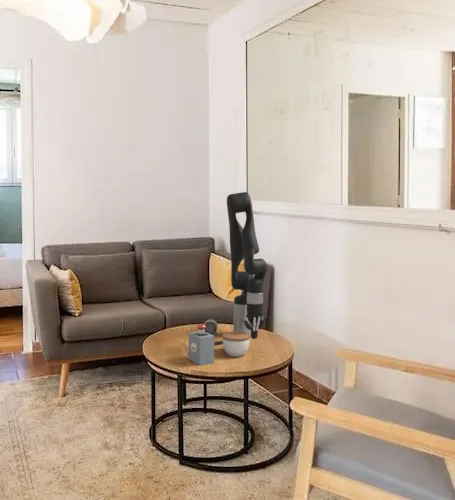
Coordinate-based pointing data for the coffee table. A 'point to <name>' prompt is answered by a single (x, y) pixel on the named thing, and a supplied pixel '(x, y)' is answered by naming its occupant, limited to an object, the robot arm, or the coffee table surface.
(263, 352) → the coffee table surface
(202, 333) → the plunger
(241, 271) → the robot arm
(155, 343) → the coffee table surface
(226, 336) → the lidded bowl
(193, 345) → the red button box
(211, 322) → the ceramic mug
